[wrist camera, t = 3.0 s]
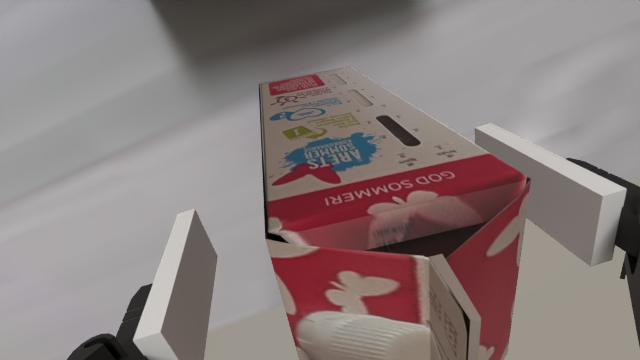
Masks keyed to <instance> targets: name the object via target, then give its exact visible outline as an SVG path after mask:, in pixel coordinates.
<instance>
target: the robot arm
mask: <svg viewBox="0 0 640 360" xmlns="http://www.w3.org/2000/svg"><path fill="white" fill-rule="evenodd" d="M475 144H476V145H478V146H479V147H481V148H482V149H484V150H486V151H487V152H489V153H491V154H492V155H494V156H495V157H497V158H499V159H500V160H502V161H503V162H505V163H507V164H508V165H510V166H511V167H513V168H515V169H516V170H518V171H519V172H521V173H523V174H524V175H526V176H527V177H529V178H531V184H530V191H529V198H528V206H527V213H526V218H528V219H529V220H530V221H531V222H533V223H534V224H535V225H537V226H538V227H539V228H541V229H542V230H543V231H545V232H546V233H547V234H549V235H550V236H551V237H553V238H554V239H555V240H556V241H558V242H559V243H560V244H562V245H563V246H564V247H566V248H567V249H568V250H569V251H571V252H572V253H574V254H575V255H576V256H577V257H579V258H580V259H582V260H583V261H584V262H585V263H587V264H588V265H589V266H594V265H597V264H600V263H603V262H606V261H610V260H612V258H613V253H614V247H615V245H616V246H618V247H620V248H621V249H622V250H624V251H626V254H625V259H624V263H623V267H622V272H621V276H620V278H621V279H625V275H627V280H628V285H629V291H630V297H631V302H632V308H633V313H634V319H635V324H636V330H637V335H638V340H639V346H640V187H639V186H637V185H634V184H632V183H630V182H628V181H626V180H624V179H621V178H619V177H617V176H615V175H613V174H608V172H606V171H604V170H602V169H598V168H597V167H595V166H593V165H591V164H589V163H587V162H584V161H580V160H576V159H571V158H566V159H564V158H562V157H560V156H558V155H556V154H554V153H552V152H550V151H548V150H545V149H543V148H541V147H539V146H537V145H535V144H533V143H531V142H529V141H527V140H525V139H523V138H521V137H518V136H516V135H514V134H512V133H510V132H508V131H506V130H504V129H502V128H500V127H498V126H496V125H494V124H492V123H489V124H485V125H482V126H478V127H475ZM217 257H218V256H217V254H216V252H215V250H214V248H213V246H212V244H211V242H210V240H209V238H208V235H207V233H206V231H205V229H204V227H203V225H202V223H201V221H200V219H199V217H198V214H197V212H196V210H195V209H193V210H189V211H186V212H183V213H179V214H178V215H177V218H176V220H175V223H174V226H173V229H172V232H171V234H170V237H169V240H168V243H167V246H166V248H165V251H164V254H163V257H162V260H161V262H160V265H159V268H158V271H157V274H156V276H155V279H154V282H153V283H152V284H149V285H146V286H142V287H141V288H140V289H139V290H138V291H137V293H136V294H135V295H134V296H133V298H132V299H131V301H130V304H129V306H128V308H127V313H125V316H124V318H123V323H121V325H120V328H119V330H118V333H117V335H116V338H115V336H113V335H111V334H109V333H108V334H100V335H97V336H95V337H92V338H90V339H89V340H87V341H86V342H84V343H82V344H81V345H80V346H79V347H78V348H77V349H76V350H74V351H73V352H72V354H71V355H70V356H69V358H68V359H67V360H203V359H204V351H205V345H206V338H207V330H208V323H209V315H210V308H211V301H212V293H213V286H214V279H215V271H216V264H217Z"/></svg>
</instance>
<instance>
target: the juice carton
mask: <svg viewBox="0 0 640 360" xmlns="http://www.w3.org/2000/svg"><path fill="white" fill-rule="evenodd" d="M259 100H260V123H261V146H262V169H263V193H264V216H265V239H266V242H267V246H268V250H269V253H270V257H271V260H272V264H273V267H274V271H275V275H276V278H277V282H278V285H279V289H280V292H281V296H282V299H283V303H284V307H285V310H286V314H287V317H288V321H289V324H290V328H291V331H292V335H293V339H294V342H295V346H296V349H297V352H298V356H299V360H504V359H505V357H506V355H507V351H508V344H509V336H510V329H511V322H512V314H513V307H514V300H515V293H516V285H517V278H518V271H519V264H520V256H521V249H522V242H523V235H524V227H525V220H526V213H527V206H528V198H529V191H530V184H531V178H529V177H527V176H526V175H524V174H523V173H521V172H519V171H518V170H516V169H515V168H513V167H511V166H510V165H508V164H507V163H505V162H503V161H502V160H500V159H499V158H497V157H495V156H494V155H492V154H491V153H489V152H487V151H486V150H484V149H482V148H481V147H479V146H478V145H476V144H474V143H473V142H471V141H470V140H468V139H466V138H465V137H463V136H462V135H460V134H458V133H457V132H455V131H454V130H452V129H450V128H449V127H447V126H446V125H444V124H442V123H441V122H439V121H438V120H436V119H434V118H433V117H431V116H429V115H428V114H426V113H425V112H423V111H421V110H420V109H418V108H417V107H415V106H413V105H412V104H410V103H409V102H407V101H405V100H404V99H402V98H401V97H399V96H397V95H396V94H394V93H393V92H391V91H389V90H388V89H386V88H385V87H383V86H381V85H380V84H378V83H376V82H375V81H373V80H372V79H370V78H368V77H367V76H365V75H363V74H362V73H360V72H359V71H357V70H355V69H354V68H352V67H351V66H350V67H345V68H339V69H334V70H329V71H324V72H319V73H313V74H308V75H303V76H298V77H292V78H287V79H282V80H277V81H272V82H266V83H261V84H259Z"/></svg>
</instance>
